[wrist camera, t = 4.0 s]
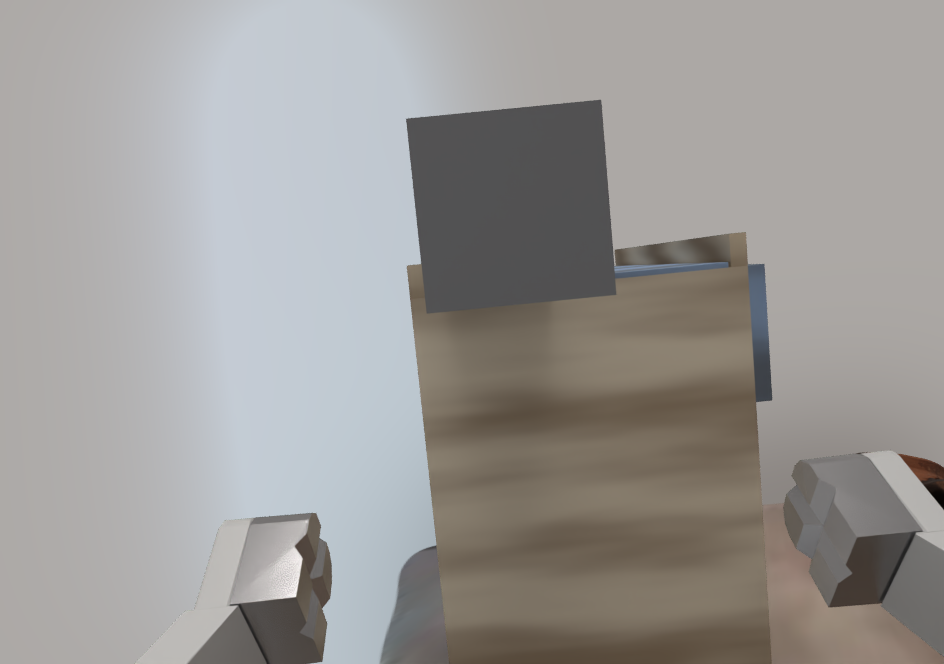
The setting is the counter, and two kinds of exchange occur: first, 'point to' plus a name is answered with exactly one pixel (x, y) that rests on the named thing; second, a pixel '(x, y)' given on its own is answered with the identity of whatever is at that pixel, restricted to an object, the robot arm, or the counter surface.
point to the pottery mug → (927, 475)
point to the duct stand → (603, 465)
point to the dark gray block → (512, 206)
